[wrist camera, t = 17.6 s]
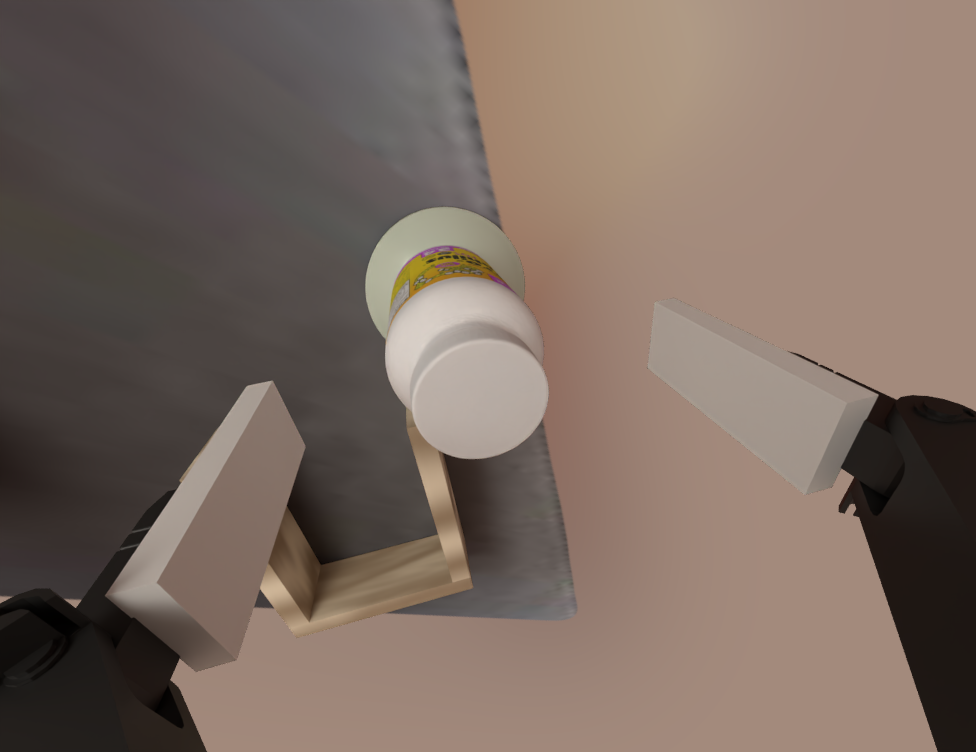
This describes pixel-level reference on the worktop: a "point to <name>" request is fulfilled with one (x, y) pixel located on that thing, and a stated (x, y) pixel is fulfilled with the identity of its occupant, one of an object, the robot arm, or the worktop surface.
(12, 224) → the worktop surface
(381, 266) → the sage green dome
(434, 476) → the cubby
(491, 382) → the supplement bottle
